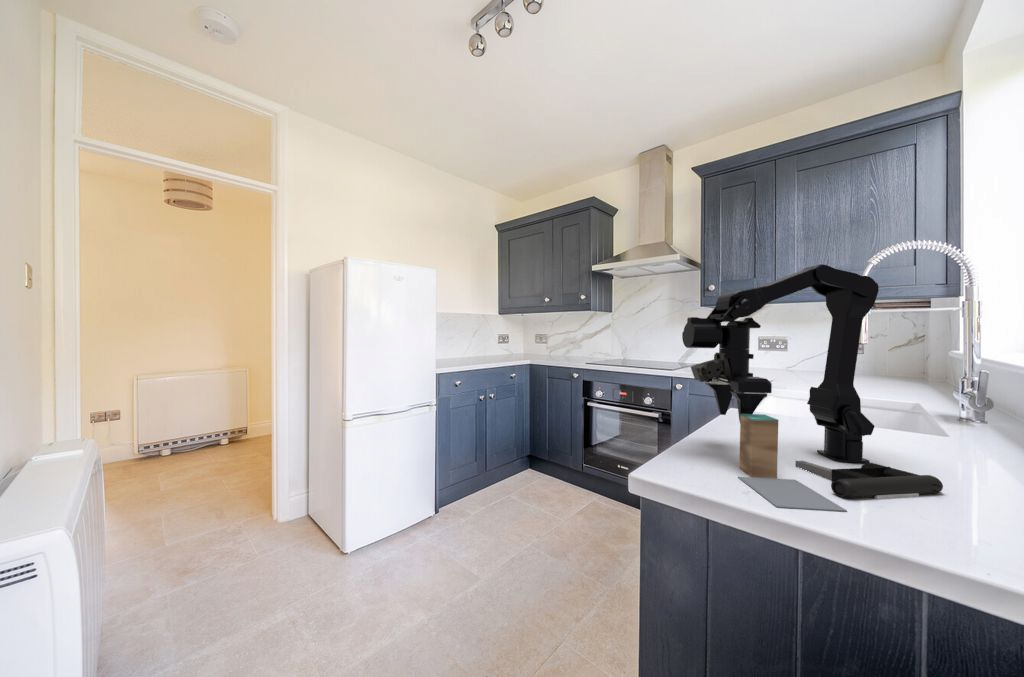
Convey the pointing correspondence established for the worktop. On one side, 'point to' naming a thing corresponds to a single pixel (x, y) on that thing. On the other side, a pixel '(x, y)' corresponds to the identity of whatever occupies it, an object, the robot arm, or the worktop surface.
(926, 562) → the worktop surface
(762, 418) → the walnut block
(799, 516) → the worktop surface
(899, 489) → the door handle
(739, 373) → the robot arm
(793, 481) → the mat
